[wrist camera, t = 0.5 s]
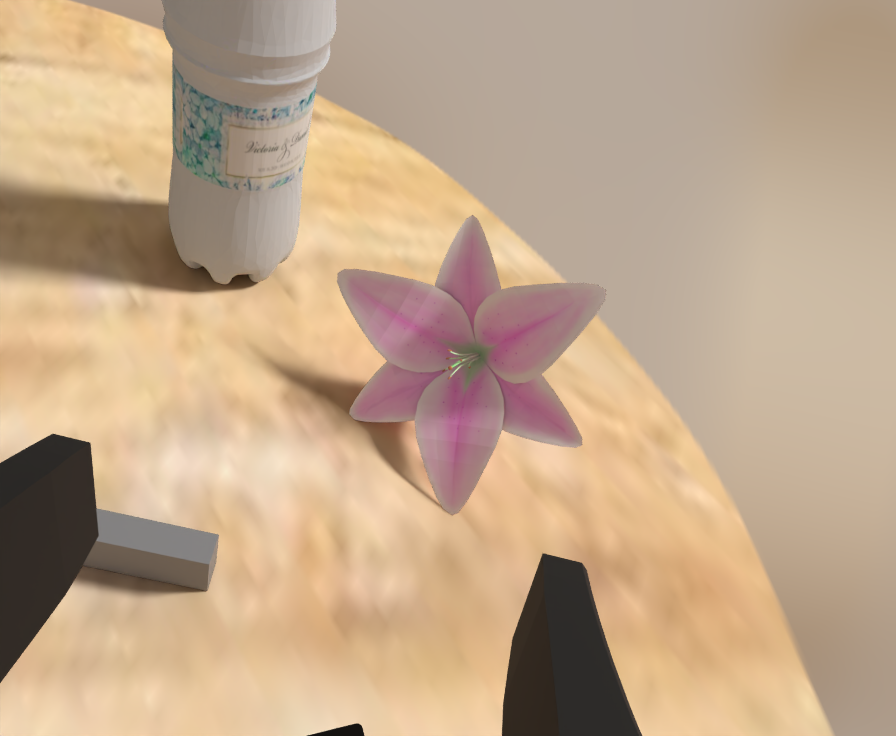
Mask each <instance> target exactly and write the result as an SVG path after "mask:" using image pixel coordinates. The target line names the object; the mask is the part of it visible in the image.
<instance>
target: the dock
mask: <svg viewBox="0 0 896 736" xmlns="http://www.w3.org/2000/svg"><path fill="white" fill-rule="evenodd" d="M96 510H97V521H98V532H99V536H98V538H97V540H96V542H95V544H94V545H93V547H92V549H91V551H90V553H89V555H88V556H87V558H86V560H85V562H84V564H83V566H87V567H92V568H97V569H102V570H107V571H112V572H117V573H121V574H126V575H131V576H136V577H141V578H146V579H151V580H156V581H161V582H166V583H170V584H175V585H180V586H185V587H190V588H195V589H200V590H205V591H207V590H208V587H209V583H210V580H211V577H212V574H213V571H214V567H215V564H216V558H217V548H218V538H219V535H218V534H213V533H208V532H204V531H199V530H194V529H190V528H185V527H180V526H176V525H171V524H166V523H162V522H157V521H152V520H148V519H143V518H138V517H134V516H129V515H124V514H120V513H115V512H110V511H106V510H101V509H96Z"/></svg>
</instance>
